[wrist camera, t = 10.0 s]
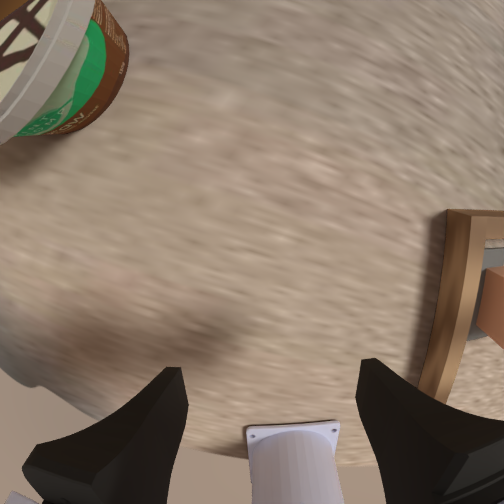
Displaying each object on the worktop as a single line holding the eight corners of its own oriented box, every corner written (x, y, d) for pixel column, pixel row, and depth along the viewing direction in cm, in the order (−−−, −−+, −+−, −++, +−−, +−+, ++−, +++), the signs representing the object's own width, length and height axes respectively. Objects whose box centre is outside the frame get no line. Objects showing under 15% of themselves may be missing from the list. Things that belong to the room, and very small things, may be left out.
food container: (32, 181, 19) (-69, 199, 9) (14, 113, 17) (-81, 106, 8) (174, 96, 18) (102, 42, 8) (145, 25, 16) (77, -51, 6)
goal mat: (515, 326, 22) (517, 328, 21) (456, 341, 22) (458, 342, 21) (532, 245, 19) (534, 246, 19) (473, 249, 20) (476, 250, 19)
